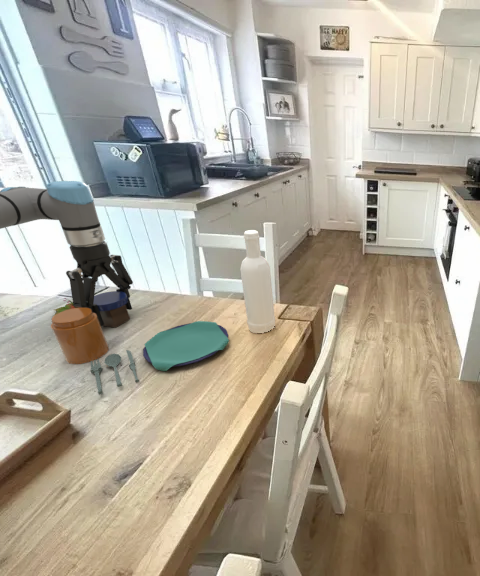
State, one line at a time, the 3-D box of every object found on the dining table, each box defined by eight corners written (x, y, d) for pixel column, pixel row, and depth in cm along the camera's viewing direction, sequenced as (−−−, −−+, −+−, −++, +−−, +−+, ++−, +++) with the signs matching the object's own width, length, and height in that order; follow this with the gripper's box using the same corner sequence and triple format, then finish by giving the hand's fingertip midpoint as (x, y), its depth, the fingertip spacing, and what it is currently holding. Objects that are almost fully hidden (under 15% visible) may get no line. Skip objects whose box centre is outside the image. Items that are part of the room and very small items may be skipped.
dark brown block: (100, 325, 94) (93, 307, 91) (115, 317, 98) (109, 299, 96) (115, 327, 94) (109, 309, 91) (130, 319, 98) (124, 301, 95)
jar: (56, 361, 80) (37, 321, 74) (89, 342, 87) (74, 304, 82) (86, 366, 79) (69, 326, 74) (117, 346, 86) (103, 308, 81)
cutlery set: (240, 351, 88) (239, 344, 86) (97, 404, 69) (93, 396, 68) (215, 320, 100) (214, 314, 99) (89, 357, 81) (86, 350, 80)
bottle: (268, 317, 104) (258, 226, 91) (280, 327, 99) (272, 233, 86) (243, 325, 99) (229, 230, 86) (255, 337, 94) (242, 237, 81)
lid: (135, 299, 97) (134, 293, 96) (109, 313, 89) (106, 307, 88) (109, 295, 98) (107, 289, 97) (80, 309, 90) (78, 302, 89)
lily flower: (109, 309, 102) (105, 296, 100) (59, 325, 93) (53, 311, 91) (93, 297, 108) (88, 285, 106) (44, 312, 98) (38, 298, 96)
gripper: (57, 258, 75) (90, 338, 85) (134, 233, 94) (153, 301, 104) (29, 254, 76) (65, 334, 86) (111, 230, 95) (132, 298, 105)
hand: (113, 316), depth 95 cm, fingers closed on lid, 9 cm apart
